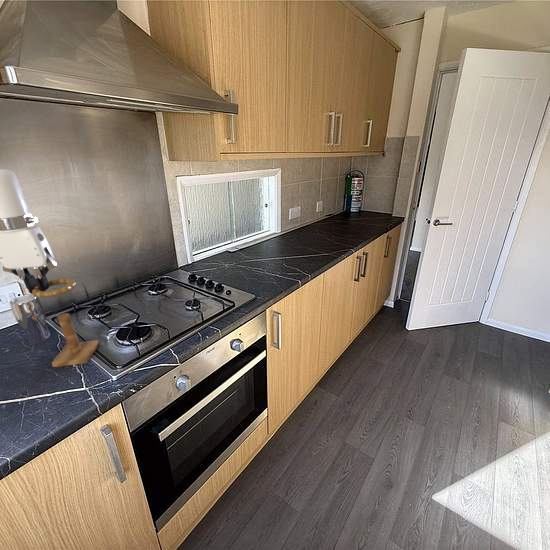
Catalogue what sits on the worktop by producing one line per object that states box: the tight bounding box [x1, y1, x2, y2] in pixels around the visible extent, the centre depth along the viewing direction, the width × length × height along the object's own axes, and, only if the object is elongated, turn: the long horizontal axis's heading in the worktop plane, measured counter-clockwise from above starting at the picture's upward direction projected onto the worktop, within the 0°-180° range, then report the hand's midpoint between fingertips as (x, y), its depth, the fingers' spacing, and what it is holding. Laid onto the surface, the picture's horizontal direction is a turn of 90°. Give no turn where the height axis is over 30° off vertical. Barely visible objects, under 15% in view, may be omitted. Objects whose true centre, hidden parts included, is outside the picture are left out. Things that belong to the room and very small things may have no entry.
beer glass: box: [9, 293, 52, 345], centre depth 90 cm, size 7×7×15 cm
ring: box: [31, 277, 77, 298], centre depth 79 cm, size 10×10×2 cm
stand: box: [51, 312, 100, 368], centre depth 83 cm, size 9×9×14 cm
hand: (39, 290), depth 79 cm, fingers closed on ring, 2 cm apart
